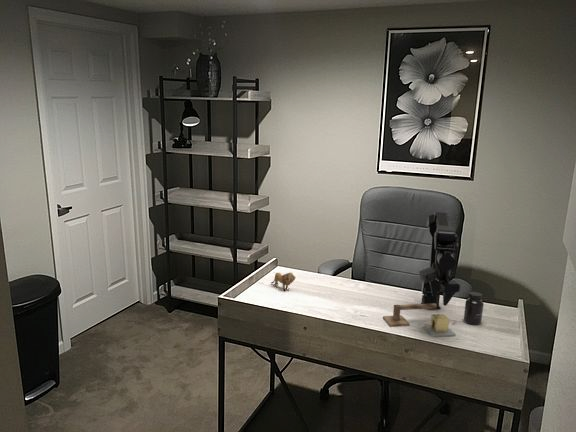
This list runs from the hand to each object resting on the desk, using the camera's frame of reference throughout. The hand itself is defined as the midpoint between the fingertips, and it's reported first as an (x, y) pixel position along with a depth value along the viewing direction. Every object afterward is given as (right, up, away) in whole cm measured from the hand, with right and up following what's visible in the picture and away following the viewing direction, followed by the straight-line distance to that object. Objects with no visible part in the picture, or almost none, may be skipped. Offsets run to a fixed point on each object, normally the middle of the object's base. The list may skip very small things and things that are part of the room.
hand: (439, 300), depth 184 cm
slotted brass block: (0, -11, 0) cm, 11 cm away
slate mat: (0, -12, 0) cm, 12 cm away
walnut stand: (-9, -10, +9) cm, 16 cm away
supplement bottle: (+17, -11, +10) cm, 22 cm away
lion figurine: (-61, -2, +42) cm, 74 cm away
